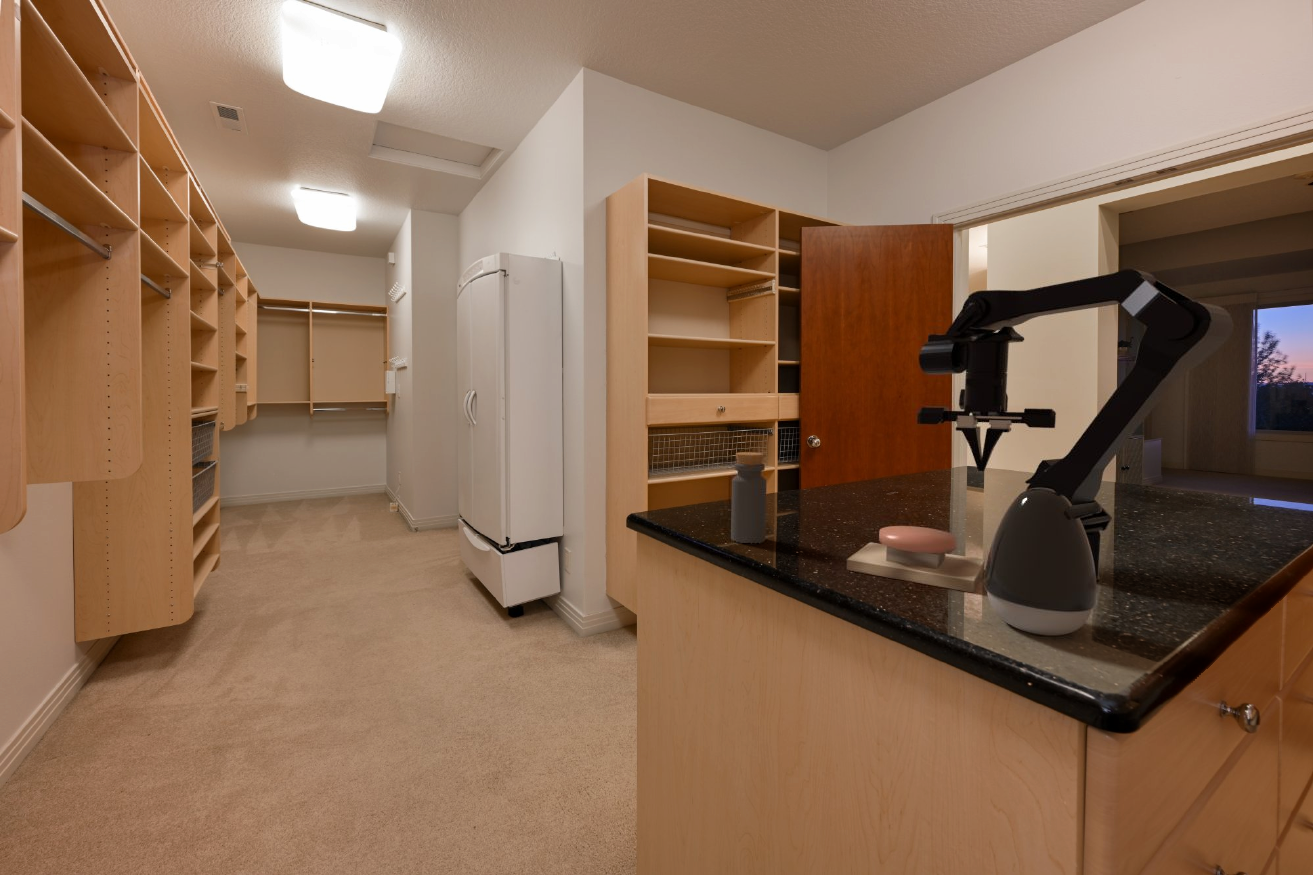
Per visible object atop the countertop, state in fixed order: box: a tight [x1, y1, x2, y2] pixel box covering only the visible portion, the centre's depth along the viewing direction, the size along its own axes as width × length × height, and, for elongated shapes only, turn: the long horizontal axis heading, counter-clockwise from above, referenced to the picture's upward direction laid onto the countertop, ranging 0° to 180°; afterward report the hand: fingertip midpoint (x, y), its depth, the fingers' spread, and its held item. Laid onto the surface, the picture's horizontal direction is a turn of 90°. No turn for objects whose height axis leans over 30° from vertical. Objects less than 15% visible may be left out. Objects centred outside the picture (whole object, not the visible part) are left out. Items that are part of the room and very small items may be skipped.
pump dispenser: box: [983, 488, 1103, 636], centre depth 62 cm, size 10×10×15 cm
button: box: [878, 525, 957, 554], centre depth 82 cm, size 10×10×3 cm
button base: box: [846, 542, 986, 593], centre depth 82 cm, size 16×12×4 cm
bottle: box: [730, 451, 767, 545], centre depth 98 cm, size 6×6×15 cm
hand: (981, 470), depth 92 cm, fingers closed
